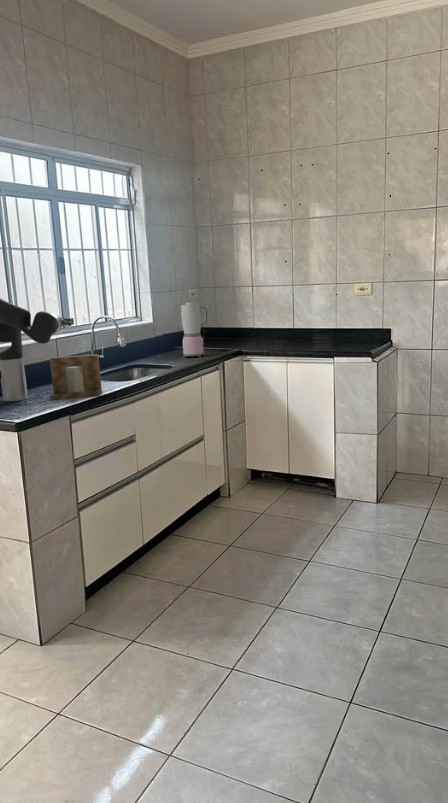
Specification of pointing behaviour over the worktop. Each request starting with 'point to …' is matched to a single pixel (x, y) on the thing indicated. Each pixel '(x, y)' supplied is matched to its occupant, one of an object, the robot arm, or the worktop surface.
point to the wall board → (88, 371)
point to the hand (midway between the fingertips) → (56, 321)
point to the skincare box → (74, 379)
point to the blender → (192, 329)
